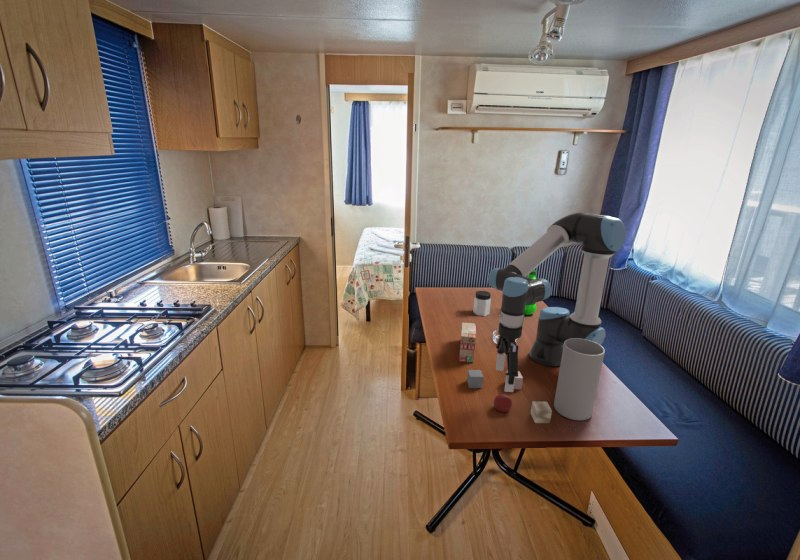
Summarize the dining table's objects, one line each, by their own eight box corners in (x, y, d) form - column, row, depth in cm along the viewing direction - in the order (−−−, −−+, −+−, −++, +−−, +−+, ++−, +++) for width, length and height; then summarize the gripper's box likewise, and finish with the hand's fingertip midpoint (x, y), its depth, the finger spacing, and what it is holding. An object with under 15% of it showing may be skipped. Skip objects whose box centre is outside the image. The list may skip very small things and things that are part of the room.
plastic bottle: (513, 312, 230) (519, 270, 222) (523, 308, 236) (529, 267, 229) (529, 318, 223) (535, 274, 215) (539, 313, 229) (545, 271, 222)
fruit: (508, 410, 146) (505, 387, 148) (514, 412, 140) (512, 388, 142) (491, 411, 145) (489, 388, 147) (497, 413, 140) (495, 389, 141)
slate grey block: (479, 381, 160) (480, 370, 159) (482, 388, 156) (483, 376, 154) (467, 380, 160) (468, 369, 159) (469, 388, 156) (470, 376, 154)
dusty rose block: (517, 382, 160) (519, 371, 159) (521, 389, 156) (522, 378, 154) (505, 382, 160) (506, 370, 159) (508, 389, 156) (509, 377, 154)
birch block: (544, 414, 141) (546, 401, 140) (549, 423, 137) (551, 410, 135) (530, 413, 141) (532, 401, 140) (534, 423, 137) (536, 410, 135)
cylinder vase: (554, 396, 152) (564, 335, 144) (591, 405, 147) (603, 342, 139) (552, 415, 141) (563, 350, 133) (592, 425, 136) (605, 358, 128)
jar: (491, 315, 224) (493, 295, 221) (477, 316, 223) (479, 296, 219) (484, 309, 233) (486, 290, 229) (471, 310, 231) (473, 290, 227)
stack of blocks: (460, 340, 195) (462, 316, 191) (473, 341, 194) (476, 317, 190) (458, 361, 175) (460, 335, 171) (473, 363, 174) (475, 337, 170)
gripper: (491, 309, 147) (486, 362, 153) (508, 340, 123) (501, 400, 129) (512, 310, 147) (506, 362, 153) (533, 341, 123) (525, 401, 130)
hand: (503, 380), depth 141 cm, fingers open, 13 cm apart
